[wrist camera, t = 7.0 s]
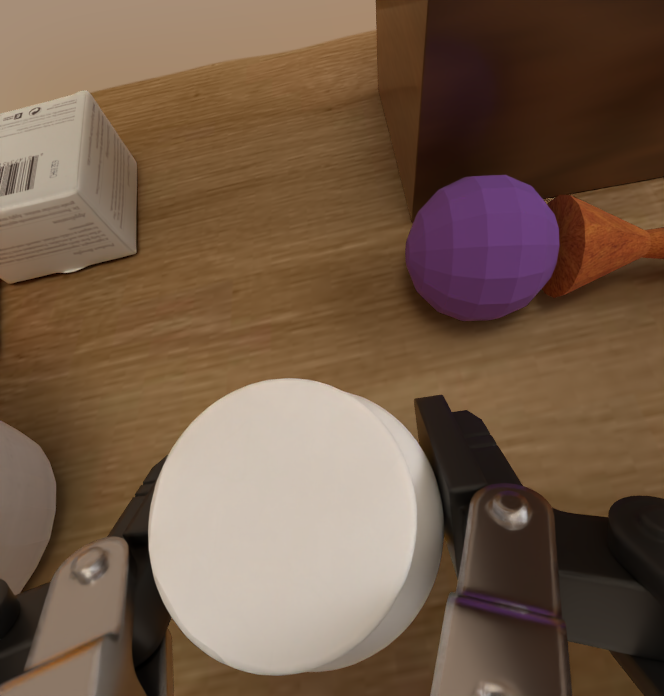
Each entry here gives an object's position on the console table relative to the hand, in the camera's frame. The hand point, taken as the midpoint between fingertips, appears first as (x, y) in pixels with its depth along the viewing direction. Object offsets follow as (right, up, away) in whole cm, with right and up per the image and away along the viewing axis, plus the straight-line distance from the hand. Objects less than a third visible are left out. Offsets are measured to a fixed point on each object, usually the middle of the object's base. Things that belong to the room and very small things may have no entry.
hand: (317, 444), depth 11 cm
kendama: (+14, +6, +8) cm, 17 cm away
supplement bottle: (+1, -4, +4) cm, 5 cm away
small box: (-16, +12, +9) cm, 22 cm away
